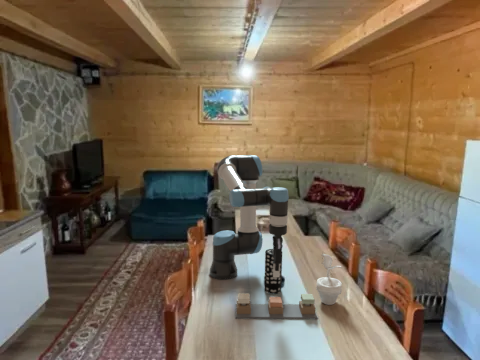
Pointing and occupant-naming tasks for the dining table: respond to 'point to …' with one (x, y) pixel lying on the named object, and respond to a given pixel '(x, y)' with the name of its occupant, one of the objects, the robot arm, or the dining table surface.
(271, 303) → the orange cube
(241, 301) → the button cream
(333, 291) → the potted plant
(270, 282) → the spotted tube
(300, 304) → the button board
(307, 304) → the button sage
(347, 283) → the dining table surface
